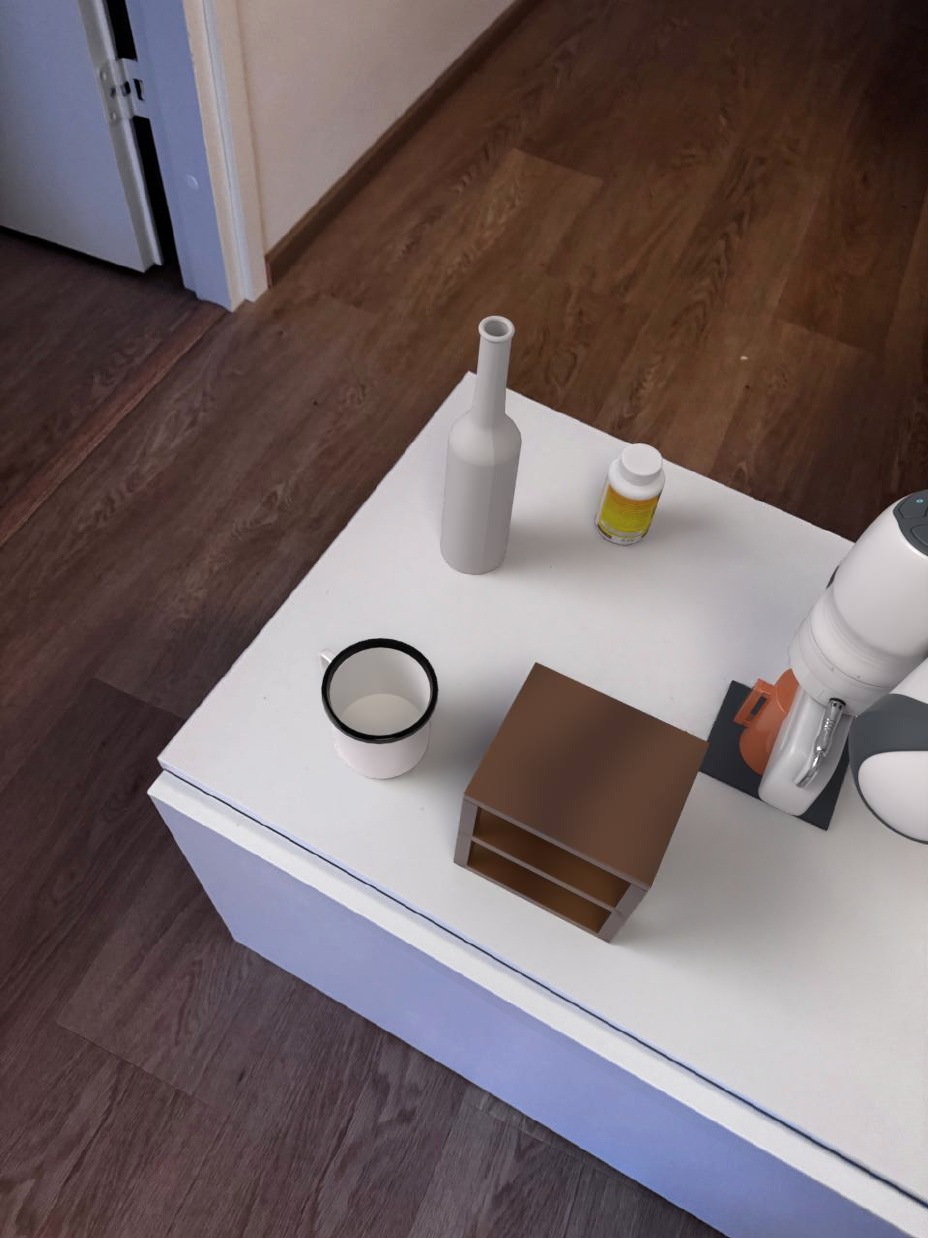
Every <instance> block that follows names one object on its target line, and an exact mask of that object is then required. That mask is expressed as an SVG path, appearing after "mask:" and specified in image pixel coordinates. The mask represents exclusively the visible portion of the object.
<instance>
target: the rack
mask: <svg viewBox="0 0 928 1238" xmlns="http://www.w3.org/2000/svg"><path fill="white" fill-rule="evenodd" d="M708 746H709V742H707V740H705V739H703V738H701V737H699V736H696V735H694V734H692V733H690V732H688V731H686V730H683V729H681V728H679V727H677V726H675V725H672V724H670V723H668V722H666V721H664V720H662V719H660V718H658V717H655V716H653V715H651V714H649V713H647V712H644V711H643V710H640V709H638V708H636V707H635V706H632V705H629V704H628V703H624V702H623V701H621V700H619V699H617V698H615V697H613V696H610V695H608V694H606V693H603V692H602V691H599V690H597V689H595V688H593V687H592V686H589V685H586V684H585V683H583V682H581V681H578V680H576V679H574V678H571V677H570V676H567V675H566V674H563V673H561V672H559V671H557V670H555V669H552V668H550V667H548V666H546V665H544V664H542V663H540V662H537V661H535V662H534V664H533V666H532V668H531V669H530V671H529V673H528V675H527V676H526V679H525V680H524V682H523V683H522V685H521V688H520V689H519V691H518V693H517V695H516V697H515V698H514V700H513V702H512V704H511V706H510V708H509V709H508V711H507V713H506V715H505V717H504V719H503V720H502V722H501V723H500V726H499V728H498V729H497V732H496V733H495V735H494V737H493V738H492V740H491V743H490V744H489V745H488V748H487V750H486V752H485V753H484V755H483V757H482V759H481V760H480V762H479V764H478V766H477V768H476V769H475V772H474V773H473V774H472V777H471V779H470V781H469V782H468V784H467V786H466V788H465V790H464V791H463V797H462V803H461V808H460V815H459V820H458V821H459V822H458V828H457V835H456V841H455V847H454V854H453V860H452V861H453V863H454V864H455V865H457V866H459V867H460V868H462V869H465V870H466V871H468V872H471V873H473V874H474V875H477V876H478V877H479V878H482V879H484V880H486V881H488V882H490V883H492V884H494V885H495V886H497V887H499V888H501V889H504V891H506V892H509V893H511V894H512V895H515V896H517V897H518V898H521V899H523V900H524V901H526V902H528V903H530V904H532V905H534V906H536V907H538V908H540V909H541V910H544V911H545V912H547V913H550V914H551V915H553V916H555V917H557V918H559V919H560V920H563V921H565V922H567V923H568V924H571V925H573V926H574V927H576V928H578V929H580V930H582V931H584V932H585V933H588V934H590V935H592V936H594V937H596V938H597V939H599V940H601V941H603V942H605V943H607V944H611V942H612V941H613V940H614V938H615V937H616V936H617V934H618V933H619V932H620V930H621V929H622V927H624V925H625V924H626V922H627V921H628V919H629V918H630V917H631V915H632V914H633V912H634V911H635V910H636V909H637V907H638V906H639V904H640V903H641V902H642V900H643V899H644V898H645V896H647V893H648V892H649V891H650V889H651V888H652V886H653V883H654V882H655V879H656V876H657V874H658V872H659V868H660V866H661V864H662V862H663V859H664V857H665V855H666V852H667V849H668V847H669V844H670V842H671V840H672V837H673V834H674V832H675V830H676V827H677V825H678V822H679V820H680V817H681V815H682V812H683V810H684V807H685V805H686V803H687V800H688V798H689V795H690V793H691V791H692V788H693V785H694V783H695V781H696V778H697V776H698V773H699V772H700V771H699V769H700V766H701V764H702V761H703V759H704V756H705V754H706V751H707V749H708Z"/></svg>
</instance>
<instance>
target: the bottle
mask: <svg viewBox="0 0 928 1238" xmlns="http://www.w3.org/2000/svg"><path fill="white" fill-rule="evenodd" d="M515 332H516V329H515V325H514V324H513V322H512V321H511V320H510V319H509V318H506V317H504V316H501V315H490V316H487V317H485V318H483V319H482V320H481V321H480V322H479V325H478V333H479V335H480V337H479V338H480V340H479V347H478V349H479V350H478V359H477V366H476V367H477V368H476V377H475V378H476V379H475V386H474V391H473V396H472V403H471V408H470V409H468V410H467V411H466V412H464V413H462V414H460V415H459V416H458V417H457V419H456V420H455V421H453V423H452V424H451V426H450V429H449V431H448V434H447V447H446V461H445V473H444V484H443V485H444V487H443V498H442V499H443V501H442V513H441V526H440V541H439V542H440V543H439V546H440V553H441V556H442V558H443V560H444V561H445V562H446V564H448V566H450V568H452V569H454V570H455V571H457V572H460V573H463V574H467V575H483V574H486V573H489V572H492V571H493V570H495V569H496V568H498V567H499V566H500V565H501V564H502V562H503V561H504V559H505V555H506V552H507V546H508V539H509V533H510V527H511V521H512V514H513V506H514V500H515V499H514V498H515V492H516V487H517V479H518V472H519V464H520V457H521V451H522V450H521V449H522V443H523V441H522V433H521V431H520V429H519V427H518V425H517V424H516V422H515V421H514V419H513V418H512V417H511V416H509V415H508V414H507V413H506V404H507V403H506V401H507V400H506V399H507V382H508V374H509V366H510V356H511V349H512V348H511V347H512V339H513V337H514V335H515Z"/></svg>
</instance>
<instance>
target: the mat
mask: <svg viewBox="0 0 928 1238" xmlns="http://www.w3.org/2000/svg"><path fill="white" fill-rule="evenodd" d="M752 688H753V687H750V686H747V685H746V684H743V683H741V682H739V681H737V680H734V679H732V680H731V681H730V683H729V686H728V688H727V690H726V693H725V696H724V697H723V700H722V703H721V705H720V708H719V710H718V713H717V714H716V717H715V720H714V723H713V725H712V727H711V730H710V732H709V734H708V737H707V739H706V741H707V742H709V746H708V749H707V751H706V754H705V756H704V759H703V761H702V764H701V766H700V769H699V771H698V772H700V773H702V774H703V775H706V776H709V777H711V778H713V779H714V780H716V781H719V782H721V783H723V784H725V785H727V786H730V787H731V788H733V789H735V790H738V791H740V792H742V793H744V794H746V795H749V796H751V797H753V798H755V799H757V800H758V801H761V802H763V803H765V804H767V803H766V802H764V801H763V800H762V799H761V798H760V797H759V794H758V789H759V786H760V783H761V780H762V777H763V776H762V775H760V774H758V773H757V772H755V771H754V770H753V769H752V768H750V766H749V765H748V764H747V763H746V762H745V760H744V758H743V756H742V754H741V751H740V746H739V741H740V736H741V734H742V732H743V730H744V729H745V727H746V726H743V725H741V724H738V723H736V722H734V718H735V716H736V713H737V711H738V709H739V708H740V706H741V705H742V703H743V702H744V700H745V699H746V697H747V696H748V694H749V692H750V691H751V689H752ZM764 699H765V697H763V696H761V697H760V699H759V700H758V702H757V703H756V705H755V706H754V708H753V709H752V711H751V712H750V713H751V714H753V715H754V714H755V713H756V711H757V710H758V708H759V707H760V705H761V704H762V702H763V701H764ZM849 766H850V759H849V733H848V736H847V739H846V742H845V745H844V748H843V751H842V754H841V757H840V760H839V762H838V765H837V767H836V769H835V771H834V773H833V775H832V777H831V779H830V780H829V782H828V783H827V785H826V786H825V788H824V789H823V790H822V792H821V793H820V794H819V795H818V797H817V798H816V799H815V800H814V802H813V803H812V804H811V805H810V806H809V808H808V809H807V810H806V811H805V812H804V813H803V814H801V815H799V816H796V815H792V814H790V816H793V817H795V818H798V819H799V820H802V821H804V822H806V823H808V824H810V825H812V826H814V827H815V828H818V829H821V830H822V831H825V832H827V831H828V830H829V829H830V824H831V822H832V819H833V815H834V812H835V809H836V806H837V803H838V799H839V796H840V793H841V791H842V790H841V789H842V787H843V783H844V780H845V778H846V775H847V771H848V768H849Z"/></svg>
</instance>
